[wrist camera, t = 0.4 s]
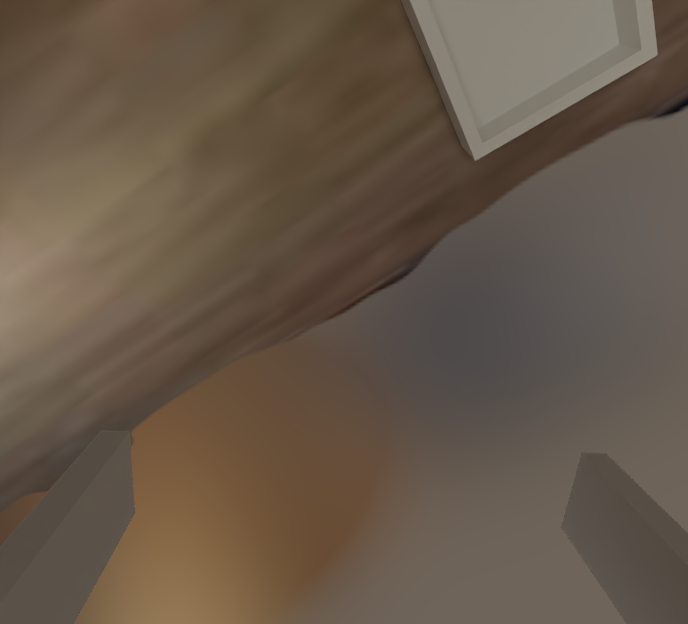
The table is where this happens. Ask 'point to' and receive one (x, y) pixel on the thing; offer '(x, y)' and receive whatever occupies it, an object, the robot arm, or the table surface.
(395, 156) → the table surface
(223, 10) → the table surface
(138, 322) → the table surface
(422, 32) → the square holder
